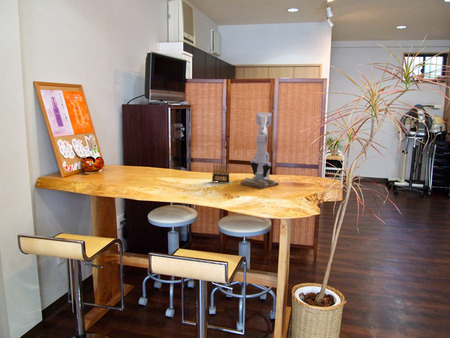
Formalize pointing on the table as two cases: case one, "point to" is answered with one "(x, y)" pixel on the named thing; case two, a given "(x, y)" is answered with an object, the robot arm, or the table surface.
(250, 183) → the notched board
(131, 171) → the table surface
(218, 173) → the ammunition clip
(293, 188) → the table surface
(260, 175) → the tab block
